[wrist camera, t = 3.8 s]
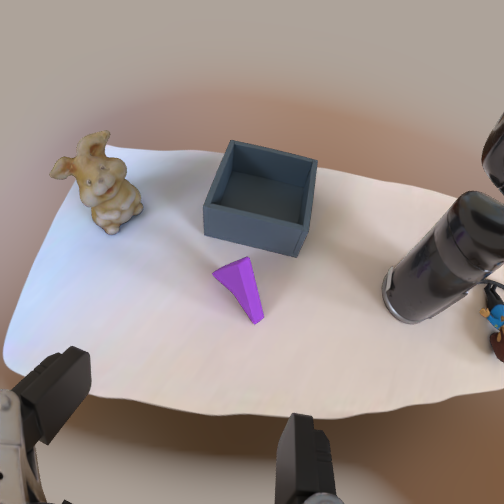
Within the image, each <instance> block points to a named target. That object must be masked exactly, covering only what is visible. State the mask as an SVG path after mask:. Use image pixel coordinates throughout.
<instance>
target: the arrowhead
mask: <svg viewBox="0 0 504 504" xmlns="http://www.w3.org/2000/svg"><path fill="white" fill-rule="evenodd" d="M212 275H213V276H214V277H215V278H216V279H217V280H218V281H220V282H221V283H222V284H223V285H224V286H225V287H226V288H227V289H229V290H230V291H231V292H232V293H233V294H234V296H235V297H236V299H237V300H238V302H239V303H240V305H241V306H242V308H243V309H244V311H245V312H246V314H247V315H248V316H249V318H250V319H251V321H252V322H253V324H256V323H258V322H259V321H260V320H262V319H263V318H264V314H263V310H262V306H261V302H260V298H259V294H258V289H257V285H256V281H255V277H254V273H253V269H252V265H251V261H250V258H249V257H245V258H242V259H240V260H237V261H235V262H232V263H230V264H228V265H225V266H223V267H221V268H219V269H218V270H216V271H215V272H213V273H212Z"/></svg>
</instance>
